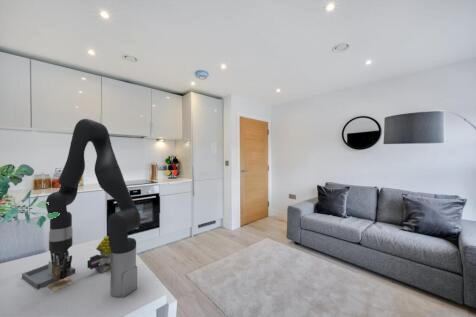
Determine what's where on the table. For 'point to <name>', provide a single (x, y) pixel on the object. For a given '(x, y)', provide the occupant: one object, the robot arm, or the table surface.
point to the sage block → (50, 267)
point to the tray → (41, 276)
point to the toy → (101, 257)
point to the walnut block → (57, 272)
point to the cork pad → (60, 284)
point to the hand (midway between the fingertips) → (60, 276)
